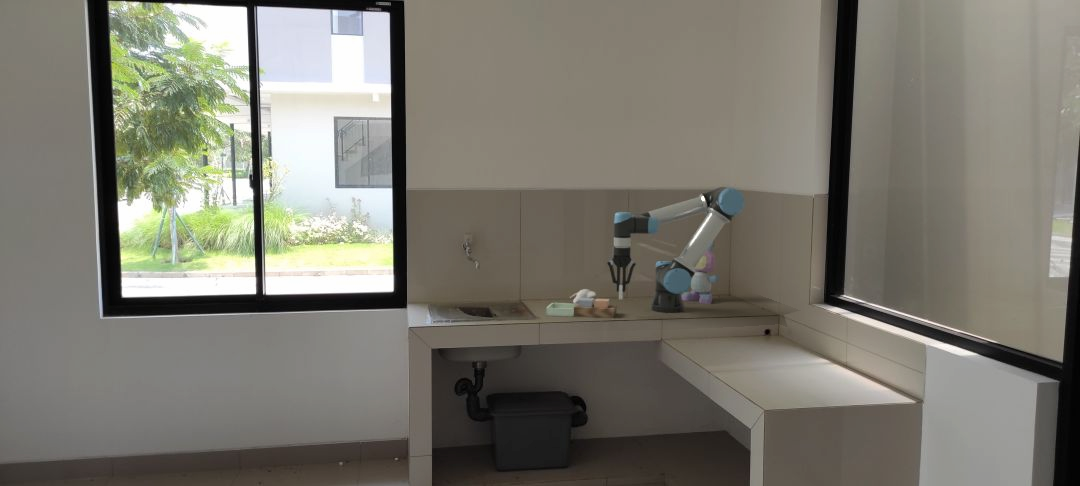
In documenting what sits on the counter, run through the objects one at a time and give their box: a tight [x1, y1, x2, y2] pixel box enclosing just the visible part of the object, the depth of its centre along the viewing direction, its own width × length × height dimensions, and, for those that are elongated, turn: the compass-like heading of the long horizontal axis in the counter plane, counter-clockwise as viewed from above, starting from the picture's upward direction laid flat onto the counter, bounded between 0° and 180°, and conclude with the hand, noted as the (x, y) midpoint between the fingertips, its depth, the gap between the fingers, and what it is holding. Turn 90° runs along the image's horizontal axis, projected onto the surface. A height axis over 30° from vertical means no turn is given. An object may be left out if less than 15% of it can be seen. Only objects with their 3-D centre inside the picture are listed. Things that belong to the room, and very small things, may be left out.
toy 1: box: [569, 288, 597, 304], centre depth 376 cm, size 13×9×15 cm
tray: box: [545, 302, 577, 318], centre depth 360 cm, size 12×13×4 cm
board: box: [573, 303, 618, 319], centre depth 357 cm, size 18×10×4 cm, turn 76°
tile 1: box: [579, 298, 594, 307], centre depth 357 cm, size 6×6×3 cm
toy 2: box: [681, 241, 720, 305], centre depth 390 cm, size 18×11×30 cm, turn 43°
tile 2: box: [594, 298, 610, 308], centre depth 356 cm, size 6×6×3 cm
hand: (620, 298), depth 353 cm, fingers closed
